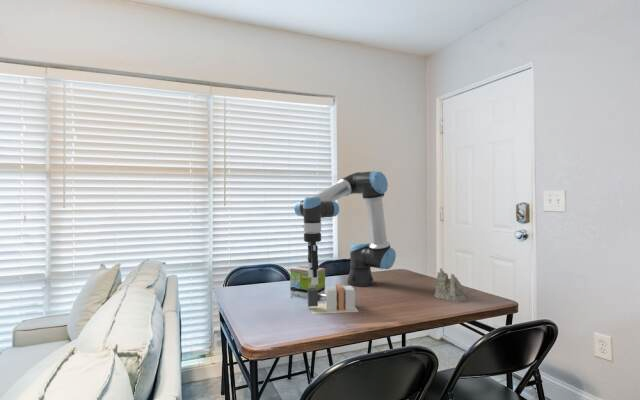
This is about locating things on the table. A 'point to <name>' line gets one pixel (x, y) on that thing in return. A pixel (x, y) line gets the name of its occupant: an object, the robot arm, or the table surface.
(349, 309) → the shaft housing
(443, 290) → the grey rock formation
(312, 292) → the shaft
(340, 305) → the block
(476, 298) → the table surface
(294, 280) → the tea box
